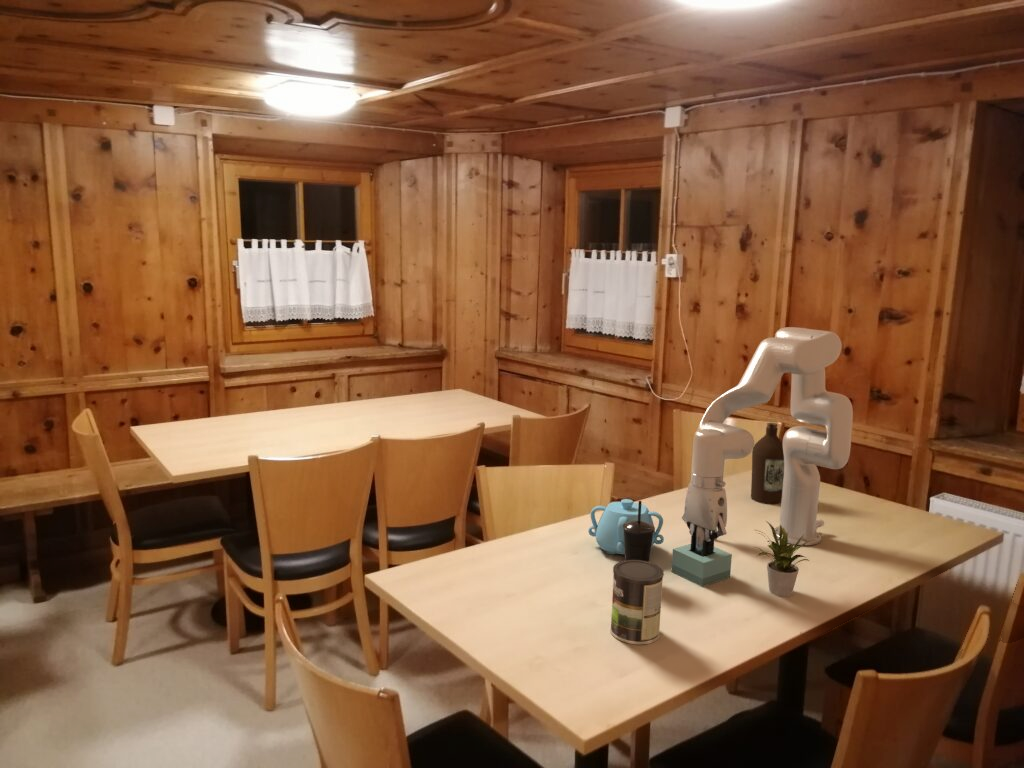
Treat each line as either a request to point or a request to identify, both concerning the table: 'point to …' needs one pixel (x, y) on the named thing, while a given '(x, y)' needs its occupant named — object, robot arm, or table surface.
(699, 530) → the pin
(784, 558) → the house plant
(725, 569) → the bore block
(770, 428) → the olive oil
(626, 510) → the decorative pot
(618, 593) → the coffee can
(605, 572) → the table surface
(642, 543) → the drinking cup
